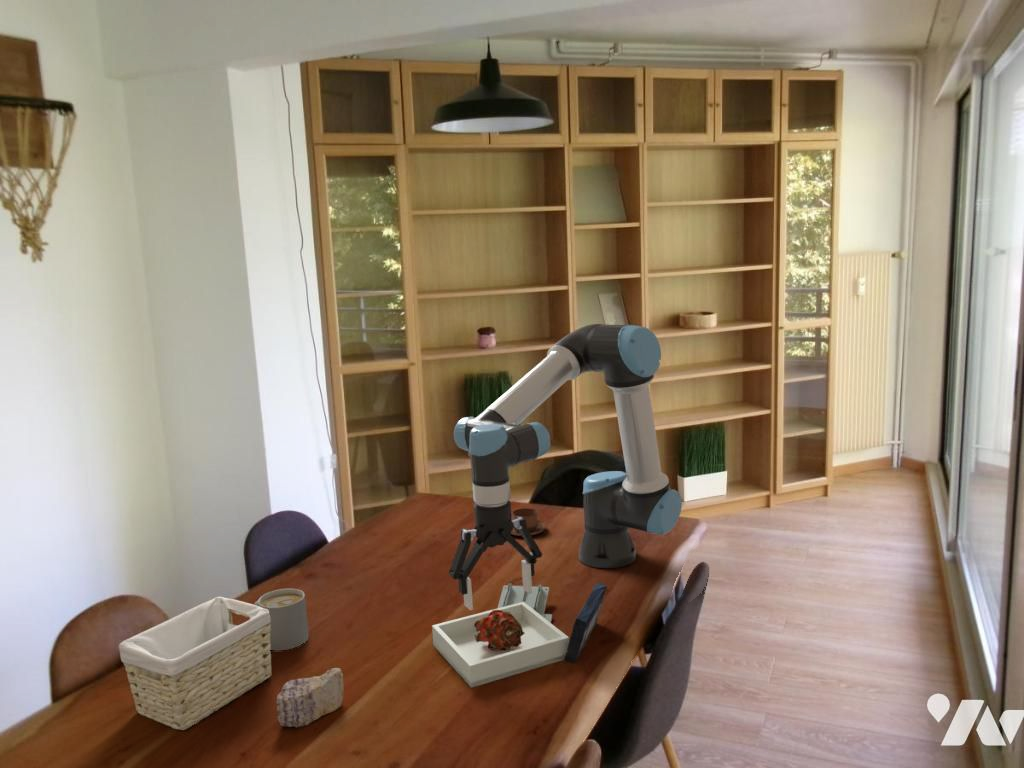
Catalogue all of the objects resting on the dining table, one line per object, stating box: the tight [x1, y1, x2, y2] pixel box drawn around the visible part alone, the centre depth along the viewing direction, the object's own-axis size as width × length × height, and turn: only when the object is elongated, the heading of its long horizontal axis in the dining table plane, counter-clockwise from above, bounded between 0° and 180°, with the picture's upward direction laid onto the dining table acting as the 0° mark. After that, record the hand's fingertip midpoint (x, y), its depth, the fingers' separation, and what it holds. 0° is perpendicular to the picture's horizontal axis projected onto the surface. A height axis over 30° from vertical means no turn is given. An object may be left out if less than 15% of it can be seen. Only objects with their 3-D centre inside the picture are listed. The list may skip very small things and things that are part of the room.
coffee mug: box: [253, 588, 310, 650], centre depth 182 cm, size 13×10×10 cm
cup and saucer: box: [510, 507, 547, 537], centre depth 242 cm, size 12×12×6 cm
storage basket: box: [118, 596, 273, 731], centre depth 159 cm, size 24×16×15 cm
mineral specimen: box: [276, 667, 345, 728], centre depth 152 cm, size 14×8×7 cm, turn 138°
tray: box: [431, 602, 570, 688], centre depth 172 cm, size 22×20×4 cm
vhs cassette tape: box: [563, 582, 608, 664], centre depth 174 cm, size 18×3×10 cm, turn 159°
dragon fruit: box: [472, 609, 525, 651], centre depth 172 cm, size 8×8×12 cm
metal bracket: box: [497, 582, 553, 624], centre depth 191 cm, size 14×6×15 cm
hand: (498, 599), depth 171 cm, fingers open, 13 cm apart
